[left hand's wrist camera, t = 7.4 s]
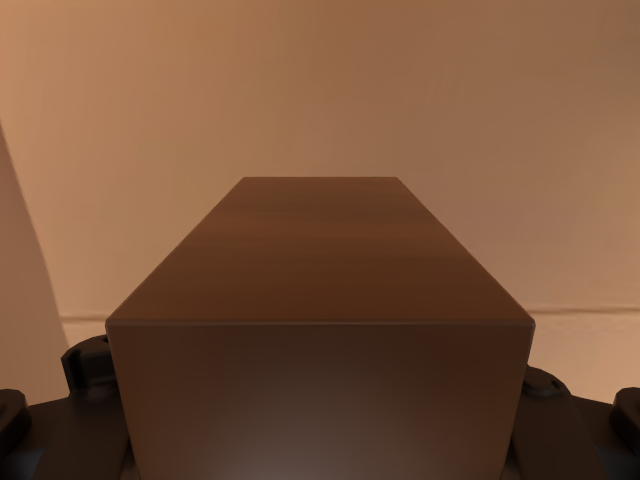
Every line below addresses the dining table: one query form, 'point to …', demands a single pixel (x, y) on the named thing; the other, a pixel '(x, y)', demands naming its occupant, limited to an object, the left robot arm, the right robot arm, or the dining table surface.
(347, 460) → the bar
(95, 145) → the dining table surface
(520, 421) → the left robot arm
